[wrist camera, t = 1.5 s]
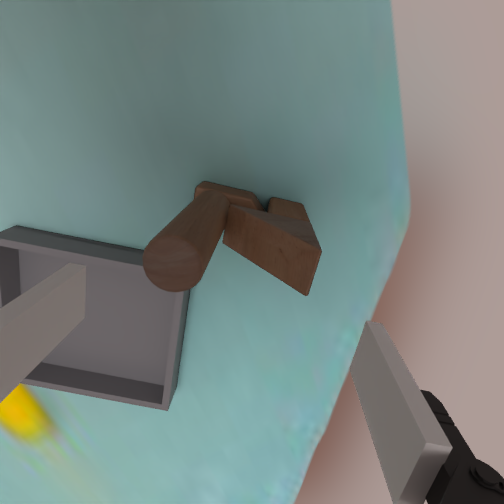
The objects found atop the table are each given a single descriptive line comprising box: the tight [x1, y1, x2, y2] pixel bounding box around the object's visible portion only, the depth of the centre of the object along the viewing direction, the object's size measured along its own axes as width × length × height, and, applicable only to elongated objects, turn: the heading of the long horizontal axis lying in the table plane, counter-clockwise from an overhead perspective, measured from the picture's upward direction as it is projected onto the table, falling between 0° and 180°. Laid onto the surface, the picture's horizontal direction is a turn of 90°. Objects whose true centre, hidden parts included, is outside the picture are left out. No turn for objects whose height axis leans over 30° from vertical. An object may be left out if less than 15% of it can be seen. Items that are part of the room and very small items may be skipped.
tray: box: [0, 225, 190, 411], centre depth 40 cm, size 18×20×4 cm
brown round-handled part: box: [142, 181, 322, 296], centre depth 28 cm, size 4×11×18 cm, turn 77°
